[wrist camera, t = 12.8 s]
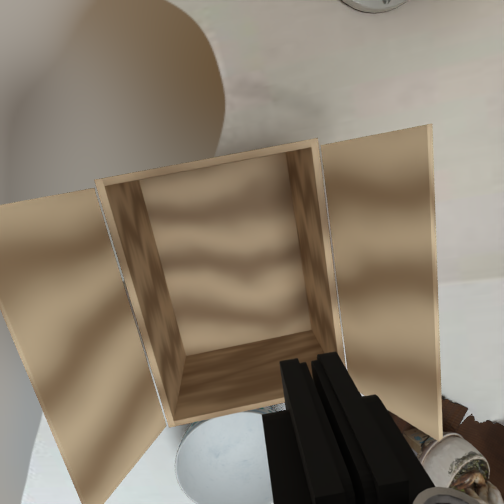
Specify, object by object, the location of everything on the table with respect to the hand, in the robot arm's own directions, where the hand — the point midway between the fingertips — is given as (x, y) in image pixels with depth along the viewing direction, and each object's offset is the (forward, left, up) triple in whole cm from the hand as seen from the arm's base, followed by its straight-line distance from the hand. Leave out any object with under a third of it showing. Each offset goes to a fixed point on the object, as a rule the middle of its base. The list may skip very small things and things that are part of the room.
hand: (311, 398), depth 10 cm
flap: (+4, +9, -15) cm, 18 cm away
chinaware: (+27, -6, -32) cm, 42 cm away
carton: (+4, -2, -31) cm, 32 cm away
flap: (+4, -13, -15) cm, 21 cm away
